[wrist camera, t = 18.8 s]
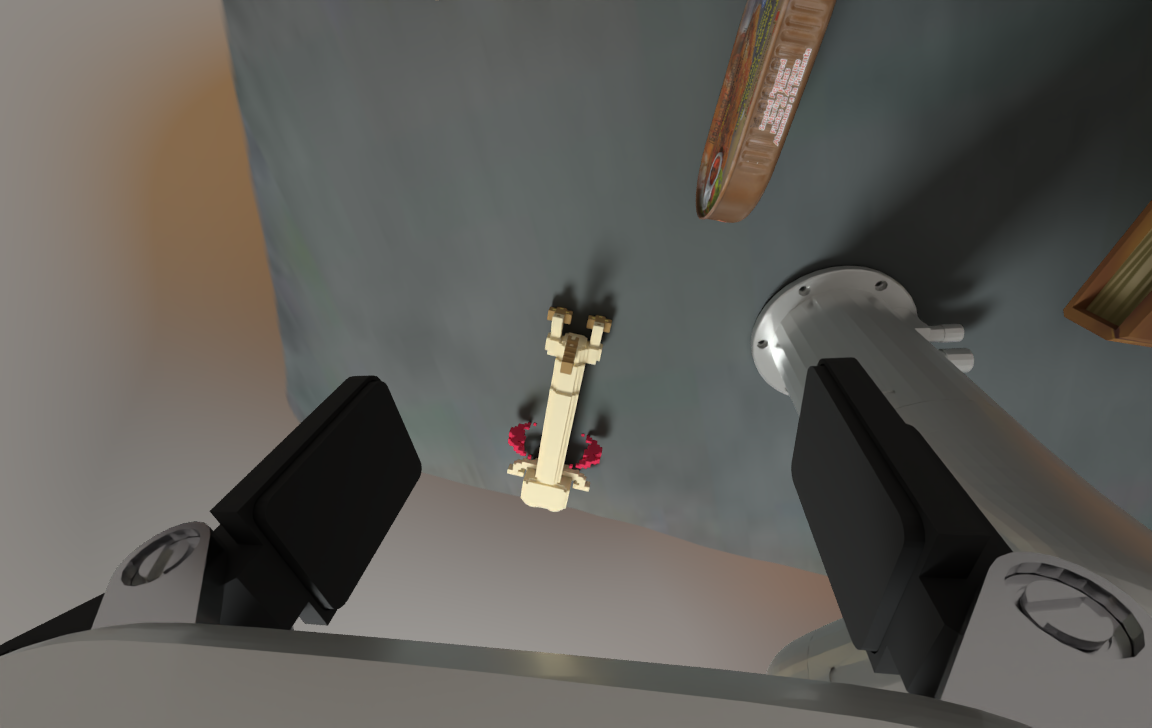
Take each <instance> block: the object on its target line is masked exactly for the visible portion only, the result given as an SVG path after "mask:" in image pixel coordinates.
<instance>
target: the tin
mask: <svg viewBox="0 0 1152 728" xmlns="http://www.w3.org/2000/svg"><path fill="white" fill-rule="evenodd" d="M835 3H836V0H747V3H746V6H745V10H744V13H743V16H742V19H741V22H740V26H739V29H738V32H737V36H736V39H735V43H734V46H733V50H732V53H731V57H730V61H729V64H728V68H727V71H726V75H725V78H724V82H723V85H722V89H721V92H720V96H719V99H718V103H717V106H716V110H715V113H714V117H713V120H712V124H711V127H710V131H709V134H708V138H707V141H706V145H705V149H704V152H703V157H702V161H701V166H700V170H699V176H698V181H697V190H696V212H697V215H698V217H699V218H700V219H712V220H717V221H723V222H730V223H734V222H739V221H741V220H743V219H744V218H746V217H747V216H748V215H749V214H750V213H751V211H752V210H753V209H754V208H755V206H756V205H757V203H758V202H759V200H760V198H761V196H762V195H763V193H764V191H765V189H766V187H767V185H768V183H769V181H770V178H771V176H772V174H773V171H774V169H775V166H776V163H777V161H778V158H779V156H780V153H781V150H782V148H783V145H784V143H785V140H786V137H787V135H788V132H789V129H790V126H791V124H792V121H793V119H794V116H795V113H796V111H797V108H798V105H799V103H800V100H801V97H802V94H803V92H804V89H805V86H806V84H807V81H808V78H809V75H810V73H811V70H812V67H813V65H814V62H815V59H816V56H817V54H818V51H819V48H820V45H821V43H822V40H823V37H824V34H825V32H826V29H827V26H828V23H829V21H830V18H831V15H832V12H833V9H834V6H835Z"/></svg>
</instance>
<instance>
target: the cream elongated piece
mask: <svg viewBox="0 0 1152 728" xmlns="http://www.w3.org/2000/svg"><path fill="white" fill-rule="evenodd" d="M572 314H573V312H572V311H568V310H567V309H566V308H562V307H557V308H554V307H550V309H549V311H548V317H547V320H552V325H551V326H552V327H551V333H549V334H548V336H547V340H546V346H545V349H546V350H548V352H547V354H548V355H552V356H556V360H555V366H554V371H553V377H552V383H551V388H550V393H549V398H548V404H547V410H546V415H545V421H544V427H543V433H542V438H541V444H540V450H539V457H538V458H536V459H535V460H534V459H533V460H529V459H531V456H532V455H528V458H523V460H520V459H518V460H517V461H515V462H514V464H510V465H509V468H508V472H507V473H509V474H513V475H518V476H522V477H523V475H524V472H525V469H526V470H527V471H526V474H525V477H524V480H523V486H522V493H521V499H523V501H524V502H525V504H528V506H532V507H536V506H538V507H542V508H546V509H549V511H554V512H556V511H559V510H562V509H563V508H564V509H565V508H566V504H567V500H568V495H569V491H570V486H571V481H572V480H573V481H574V483H573V488H575V489H579V490H584V491H589V487H590V482H588V481H586V476H584V474H582V473H579V470H577V469H576V470H574V469H572V467H573V464H570V466H569V465H565V464H564V462H565V457H566V452H567V448H568V443H569V438H570V434H571V429H572V424H573V420H574V415H575V410H576V406H577V401H578V396H579V392H580V387H581V382H582V378H583V373H584V368H585V364H586V363H589V364H593V365H595V364H596V361H600V356H601V352H602V347H603V344H600V342H601V337H602V333H603V332H607V333H609V332H610V327H611V323H612V320H610V319H605V318H606V317H604V316H599V315H596V316H591V315H589V318H588V322H587V327H586V328H589V329H593V330H592V335H591V340H590V341H587V339H588V338H586V337H585V336H584V335H579V334H574V333H570V332H569V334H568V333H565V336H563V335H562V330H563V323H566V324H570V323H571V320H572ZM536 424H537V423H534V426H536ZM530 425H531V423H530V422H528V424H527V423H525V425H524V424H519V425H518V427H517V426H515V427H514V428H513V427H511V430H510V432H509V439H508V443H509V444H510V445H511V446H513V447H514V451H516V453H520V455H522V456H526V452H525V451H524V450H525V447H524V443H525V439H526V436H524V435H525V430H524V429H528V430H529V428H530ZM584 435H585V434H582V435H581V436H583V437H584ZM586 443H591V445H589V444H588V448H587V449H585V450H584V455H583V459H582V460H580V462H579V464H578V463H576V468H579V469H581V467H584V468H585V469H587V467H590V465H591V464H595V465H596V463H598V464H599V461H600V457H601V453H602V447H600V445H597V441H595V440H592V438H590V436H589V435H587V438H586Z"/></svg>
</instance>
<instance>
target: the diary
mask: <svg viewBox="0 0 1152 728" xmlns="http://www.w3.org/2000/svg"><path fill="white" fill-rule="evenodd" d="M1063 311H1064V317H1066V318H1067V319H1069V320H1071V321H1073V322H1075V323H1077V324H1078V325H1080V326H1082V327H1084V328H1086V329H1087V330H1089V331H1091V332H1093V333H1095V334H1096V335H1098V336H1100V337H1102V338H1104V339H1105V340H1109V341H1115V342H1121V343H1128V344H1134V345H1141V346H1147V347H1152V200H1151V201H1150V203H1149V204H1148V205H1147V206H1146V207H1145V209H1144V210H1143V211H1142V212H1141V214H1140V215H1139V216H1138V217H1137V219H1136V220H1135V221H1134V222H1133V224H1132V225H1131V226H1130V227H1129V229H1128V230H1127V231H1126V232H1125V234H1124V235H1123V236H1122V237H1121V239H1120V240H1119V241H1118V242H1117V244H1116V245H1115V246H1114V247H1113V249H1112V250H1111V251H1110V252H1109V254H1108V255H1107V256H1106V257H1105V258H1104V260H1103V261H1102V262H1101V263H1100V265H1099V266H1098V267H1097V268H1096V270H1095V271H1094V272H1093V273H1092V275H1091V276H1090V277H1089V278H1088V280H1087V281H1086V282H1085V283H1084V285H1083V286H1082V287H1081V288H1080V290H1079V291H1078V292H1077V293H1076V295H1075V296H1074V297H1073V298H1072V300H1071V301H1070V302H1069V303H1068V304H1067V306H1066V307H1065V308H1064V309H1063Z"/></svg>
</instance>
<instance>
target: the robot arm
mask: <svg viewBox="0 0 1152 728" xmlns="http://www.w3.org/2000/svg"><path fill="white" fill-rule="evenodd" d="M878 282H879V283H878ZM876 283H877V284H876ZM803 286H804V288H803V289H800V288H801V287H803ZM963 337H964V328H963V327H962V325H960V324H942V325H938V326H928V325H927V324H926V323H923V322H922V321H921V320H920V319H919V318H918V316H917V308H916V306H915V304H914V301H913V299H912V297H911V295H910V294H909V293H908V292H907V291H906V289H905V288H904V287H903V286H902V285H901V284H899V283H898V282H897V281H896V280H894V279H893V278H892V277H890V276H888V275H886V274H884V273H882V272H881V271H877V270H874V269H871V268H867V267H860V266H837V267H830V268H826V269H822V270H817V271H815V272H812V273H810V274H807V275H805V276H802V277H800V278H798V279H797V280H795V281H793V282H792V283H790V284H788V285H786V286H785V287H784V288H783V289H782V290H780V291H779V292H778V293H777V294H775V295H774V296H773V297H772V299H771V300H770V301H769V302H768V303H767V304H766V305H765V307H764V308H763V310H762V311H761V313H760V315H759V316H758V318H757V320H756V323H755V325H754V328H753V331H752V337H751V351H752V356H753V359H754V362H755V365H756V367H757V369H758V371H759V373H760V375H761V376H762V377H763V378H764V380H765V381H766V382H767V383H768V384H769V385H771V386H772V387H773V388H775V389H776V390H778V391H779V392H781V393H783V394H785V395H788V396H790V397H791V400H792V402H793V404H794V406H795V408H796V411H797V413H798V415H799V423H798V429H797V435H796V441H795V447H794V453H793V459H792V466H791V471H792V478H793V482H794V485H795V488H796V490H797V493H798V496H799V499H800V501H801V504H802V507H803V510H804V512H805V515H806V518H807V521H808V523H809V526H810V529H811V532H812V534H813V537H814V540H815V542H816V545H817V548H818V551H819V553H820V556H821V559H822V562H823V564H824V567H825V570H826V573H827V575H828V578H829V581H830V583H831V586H832V589H833V592H834V594H835V597H836V600H837V603H838V605H839V608H840V611H841V613H842V616H843V618H842V619H839V620H837V621H834V622H832V623H830V624H827V625H825V626H823V627H821V628H819V629H817V630H814V631H812V632H810V633H808V634H806V635H804V636H802V637H800V638H798V639H796V640H794V641H793V642H791V643H789V644H788V645H787V646H785V647H784V648H783V649H782V650H781V651H780V652H779V653H778V654H777V655H776V656H775V658H774V659H773V661H772V662H771V664H770V665H769V668H768V670H767V673H766V674H757V673H749V672H739V671H731V670H721V669H711V668H701V667H690V666H680V665H669V664H659V663H648V662H637V661H627V660H617V659H606V658H595V657H585V656H574V655H565V654H553V653H543V652H532V651H521V650H510V649H499V648H488V647H477V646H466V645H454V644H444V643H433V642H432V643H431V642H422V641H410V640H399V639H388V638H377V637H365V636H353V635H341V634H328V633H317V632H305V631H294V628H293V624H294V623H295V621H296V620H297V618H298V617H300V618H301V619H302V621H303V622H304V623H305V624H316V625H328V624H329V623H330V621H331V619H332V617H333V616H334V614H335V613H336V611H337V609H339V608H341V607H342V606H343V605H344V604H345V602H347V600H348V598H349V596H350V595H351V593H352V592H353V590H354V588H355V586H356V585H357V583H358V581H359V580H360V578H361V576H362V575H363V573H364V571H365V570H366V568H367V566H368V564H369V563H370V561H371V559H372V558H373V556H374V554H375V553H376V551H377V549H378V547H379V546H380V544H381V542H382V541H383V539H384V537H385V535H386V534H387V532H388V530H389V529H390V527H391V525H392V524H393V522H394V520H395V518H396V517H397V515H398V513H399V512H400V510H401V508H402V507H403V505H404V503H405V502H406V500H407V498H408V496H409V495H410V493H411V491H412V489H413V488H414V486H415V484H416V482H417V481H418V479H419V478H420V475H421V470H422V467H421V462H420V459H419V457H418V455H417V453H416V450H415V448H414V446H413V443H412V441H411V439H410V437H409V434H408V432H407V430H406V427H405V425H404V423H403V421H402V418H401V416H400V414H399V411H398V409H397V407H396V405H395V402H394V400H393V398H392V395H391V393H390V391H389V388H388V386H387V385H386V383H384V382H382V381H381V380H380V379H379V378H378V377H377V376H352V377H349V378H348V379H346V380H345V381H344V382H343V383H342V384H341V385H340V386H339V387H338V388H337V389H336V390H335V391H334V392H333V393H332V394H331V395H330V396H329V397H328V398H327V399H325V400H324V401H323V402H322V403H321V404H320V405H319V406H318V407H317V408H316V409H315V410H314V411H313V412H312V413H311V414H310V415H309V416H308V417H307V418H306V419H305V420H304V421H303V422H302V423H301V424H300V425H299V426H298V427H296V428H295V429H294V430H293V431H292V432H291V433H290V434H289V435H288V436H287V437H286V438H285V439H284V440H283V441H282V442H281V443H280V444H279V445H278V446H277V447H276V448H275V449H274V450H273V451H272V452H271V453H270V454H268V455H267V456H266V457H265V458H264V460H262V461H261V462H260V463H259V464H258V465H257V466H256V467H255V468H254V469H253V470H252V471H251V472H250V473H249V474H248V475H247V476H246V477H245V478H244V479H243V480H242V481H240V482H239V483H238V484H237V486H235V487H234V488H233V489H232V490H231V491H230V492H229V493H228V494H227V495H226V496H225V497H224V498H223V499H222V500H221V501H220V502H219V503H218V504H217V505H216V506H215V507H214V508H212V510H210V512H211V513H212V515H213V516H214V517H215V518H216V519H217V520H218V522H219V523H220V525H219V526H218V527H217V528H216V529H215V530H214V531H213V530H212V529H211V528H210V527H209V526H208V525H207V524H206V523H204V522H197V521H194V522H188V523H183V524H180V525H177V526H174V527H171V528H169V529H167V530H165V531H163V532H161V533H159V534H157V535H155V536H154V537H152V538H151V539H149V540H148V541H146V542H144V543H143V544H142V545H140V546H139V547H138V548H136V549H135V550H134V551H133V552H132V553H130V554H129V555H128V556H127V557H126V558H125V559H124V560H123V562H122V563H121V564H120V565H119V566H118V567H117V568H116V570H115V572H114V573H113V575H112V577H111V579H110V582H109V584H108V587H107V589H106V592H105V593H103V594H101V595H99V596H98V597H95V598H93V599H92V600H89V601H87V602H85V603H83V604H81V605H79V606H77V607H75V608H73V609H71V610H69V611H68V612H65V613H64V614H61V615H59V616H58V617H55V618H53V619H51V620H49V621H48V622H45V623H44V624H41V625H39V626H37V627H35V628H33V629H32V630H30V631H27V632H26V633H23V634H21V635H19V636H17V637H15V638H13V639H12V640H9V641H7V642H5V643H4V644H2V645H0V728H1152V531H1151V530H1150V529H1148V528H1147V527H1146V526H1144V525H1143V524H1142V523H1140V522H1139V521H1138V520H1136V519H1135V518H1134V517H1132V516H1131V515H1130V514H1128V513H1127V512H1125V511H1124V510H1123V509H1121V508H1120V507H1119V506H1117V505H1116V504H1115V503H1113V502H1112V501H1111V500H1109V499H1108V498H1107V497H1105V496H1104V495H1103V494H1101V493H1100V492H1099V491H1098V490H1096V489H1095V488H1094V487H1093V486H1092V485H1090V484H1089V483H1088V482H1087V481H1086V480H1084V479H1083V478H1082V477H1081V476H1080V475H1078V474H1077V473H1076V472H1075V471H1074V470H1072V469H1071V468H1070V467H1069V466H1068V465H1066V464H1065V463H1064V462H1063V461H1062V460H1061V459H1059V458H1058V457H1057V456H1056V455H1055V454H1053V453H1052V452H1051V451H1050V450H1049V449H1047V448H1046V447H1045V446H1044V445H1043V444H1042V443H1041V442H1039V441H1038V440H1037V439H1036V438H1035V437H1034V436H1033V435H1032V434H1030V433H1029V432H1028V431H1027V430H1026V429H1025V428H1024V427H1023V426H1022V425H1021V424H1019V423H1018V422H1017V421H1016V420H1015V419H1014V418H1013V417H1012V416H1010V415H1009V414H1008V413H1007V412H1006V411H1005V410H1003V409H1002V408H1001V407H1000V406H999V405H998V404H997V403H996V402H995V401H994V400H992V399H991V398H990V397H989V396H988V395H987V394H986V393H985V392H984V391H983V390H981V389H980V388H979V387H978V386H977V385H976V384H975V383H974V382H973V381H972V380H970V379H969V378H968V377H967V376H966V375H965V374H964V373H963V372H968V371H970V370H971V369H972V367H973V365H974V357H973V354H972V352H971V351H970V350H969V349H967V348H951V349H939V350H937V349H936V348H935V347H934V346H933V345H932V344H931V343H930V342H959V341H961V340H962V339H963ZM761 340H762V341H761ZM759 341H760V342H759Z"/></svg>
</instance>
